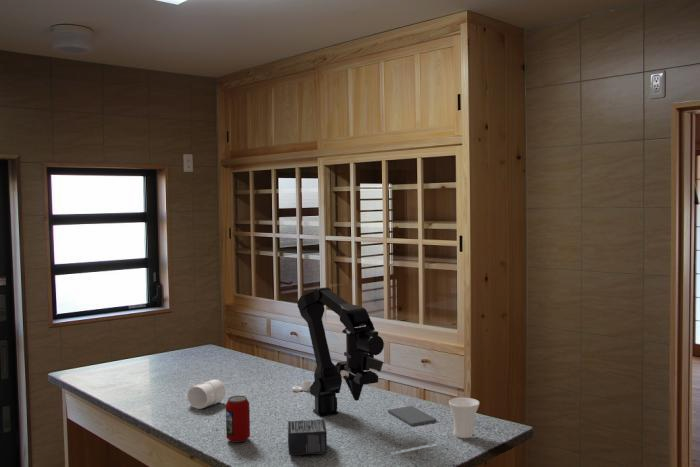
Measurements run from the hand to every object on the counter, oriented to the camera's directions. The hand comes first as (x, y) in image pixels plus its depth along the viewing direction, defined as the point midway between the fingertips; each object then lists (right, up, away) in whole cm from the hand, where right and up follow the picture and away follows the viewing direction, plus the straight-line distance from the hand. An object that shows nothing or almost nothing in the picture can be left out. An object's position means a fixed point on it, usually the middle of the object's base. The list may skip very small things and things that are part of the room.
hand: (356, 400), depth 196 cm
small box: (-9, -6, -17) cm, 20 cm away
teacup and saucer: (-20, -7, +42) cm, 47 cm away
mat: (+18, -7, +8) cm, 21 cm away
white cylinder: (-52, -8, +24) cm, 58 cm away
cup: (+31, -8, -9) cm, 34 cm away
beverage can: (-34, -9, -9) cm, 37 cm away
